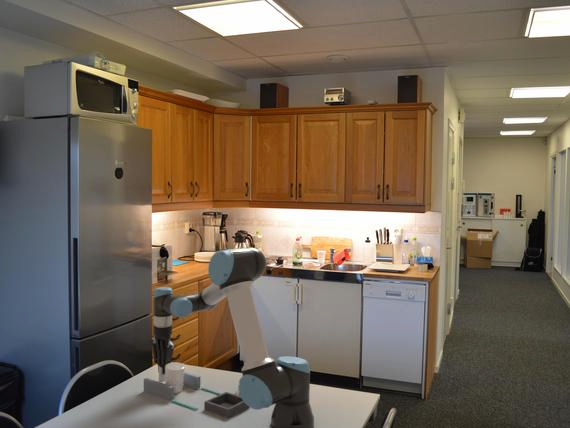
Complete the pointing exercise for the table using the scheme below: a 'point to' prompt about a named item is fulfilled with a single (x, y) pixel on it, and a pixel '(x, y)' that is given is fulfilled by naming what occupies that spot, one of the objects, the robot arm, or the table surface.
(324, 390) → the table surface
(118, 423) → the table surface
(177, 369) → the white cup
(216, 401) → the tray
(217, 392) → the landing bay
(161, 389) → the walled channel
